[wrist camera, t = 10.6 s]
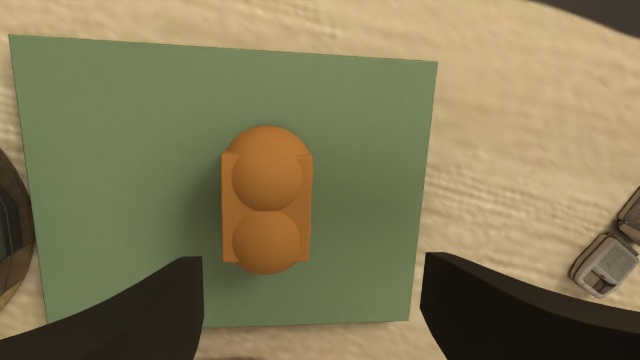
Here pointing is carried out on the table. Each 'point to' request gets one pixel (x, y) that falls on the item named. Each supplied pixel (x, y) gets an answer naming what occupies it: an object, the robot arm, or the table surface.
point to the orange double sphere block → (266, 200)
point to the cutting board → (205, 172)
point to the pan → (13, 230)
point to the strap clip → (611, 254)
